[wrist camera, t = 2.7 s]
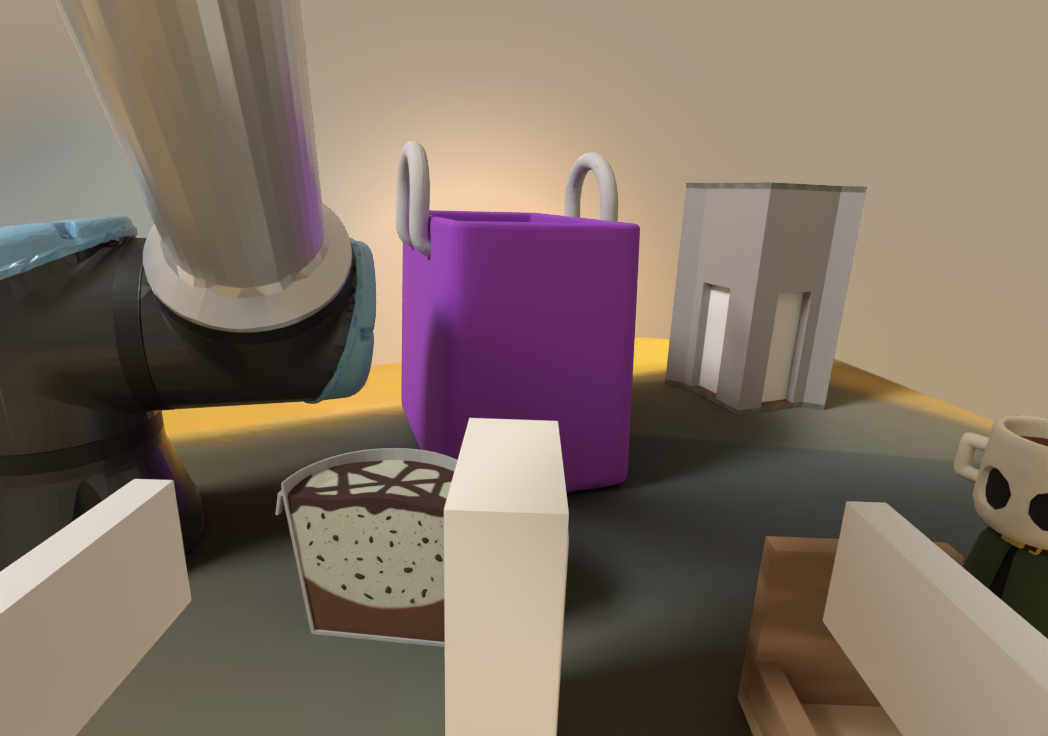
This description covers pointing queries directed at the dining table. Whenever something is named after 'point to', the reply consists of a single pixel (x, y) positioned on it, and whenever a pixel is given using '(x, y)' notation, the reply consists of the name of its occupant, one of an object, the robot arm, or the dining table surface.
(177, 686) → the dining table surface
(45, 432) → the robot arm
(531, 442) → the white rectangular box
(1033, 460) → the character mug
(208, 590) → the dining table surface
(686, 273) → the grey tall angular block
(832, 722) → the wooden holder
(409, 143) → the shopping bag
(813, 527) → the dining table surface
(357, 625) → the food container
